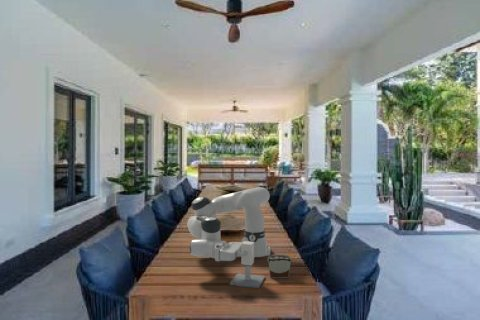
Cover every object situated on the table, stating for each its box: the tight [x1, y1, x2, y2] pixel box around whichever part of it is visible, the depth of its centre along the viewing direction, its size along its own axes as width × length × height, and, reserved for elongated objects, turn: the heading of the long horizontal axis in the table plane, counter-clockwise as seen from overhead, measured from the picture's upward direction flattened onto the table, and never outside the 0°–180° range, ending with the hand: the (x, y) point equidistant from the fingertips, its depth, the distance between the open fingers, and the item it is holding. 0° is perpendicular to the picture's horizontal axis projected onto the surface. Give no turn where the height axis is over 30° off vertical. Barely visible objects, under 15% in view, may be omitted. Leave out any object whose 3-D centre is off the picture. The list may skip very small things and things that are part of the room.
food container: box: [267, 254, 293, 279], centre depth 208 cm, size 12×6×10 cm, turn 92°
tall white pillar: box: [240, 241, 255, 266], centre depth 199 cm, size 5×5×10 cm
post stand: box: [229, 265, 266, 289], centre depth 200 cm, size 14×14×8 cm
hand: (248, 252), depth 199 cm, fingers closed on tall white pillar, 5 cm apart
